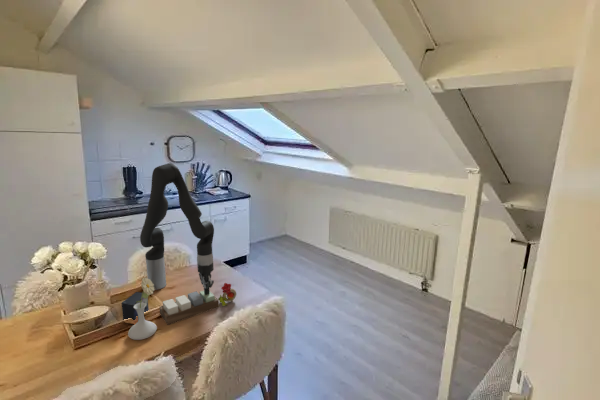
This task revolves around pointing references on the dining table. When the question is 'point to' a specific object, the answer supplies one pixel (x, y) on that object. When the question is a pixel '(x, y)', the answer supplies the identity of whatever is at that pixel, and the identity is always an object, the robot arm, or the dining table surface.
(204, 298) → the key sage
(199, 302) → the key slate
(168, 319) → the keybed
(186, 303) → the key ivory inner
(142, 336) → the flower in vase
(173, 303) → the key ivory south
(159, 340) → the dining table surface
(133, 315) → the small box
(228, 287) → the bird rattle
